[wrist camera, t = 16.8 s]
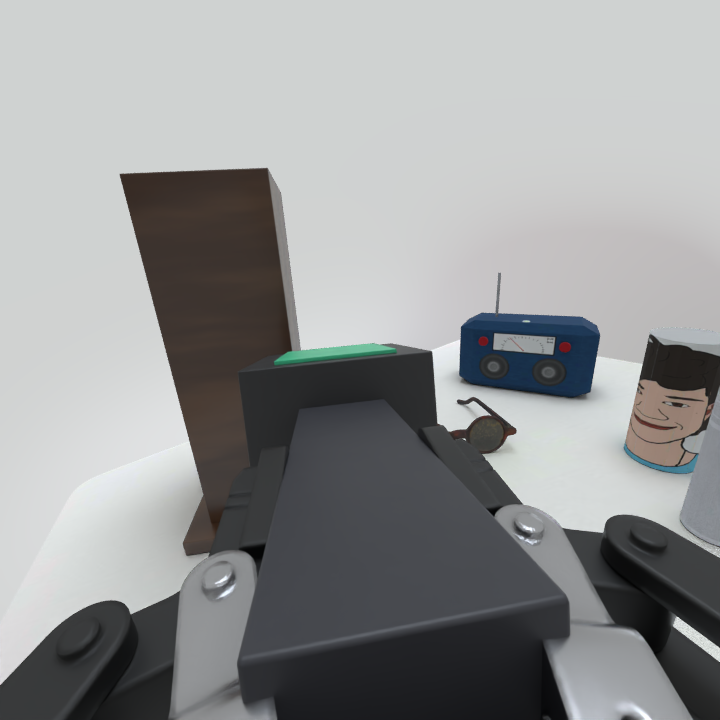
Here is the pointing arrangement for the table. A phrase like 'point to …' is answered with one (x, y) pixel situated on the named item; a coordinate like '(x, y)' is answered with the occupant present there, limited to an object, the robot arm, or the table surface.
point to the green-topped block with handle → (382, 555)
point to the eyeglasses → (485, 430)
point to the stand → (214, 306)
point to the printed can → (674, 398)
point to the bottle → (705, 485)
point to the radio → (529, 352)
